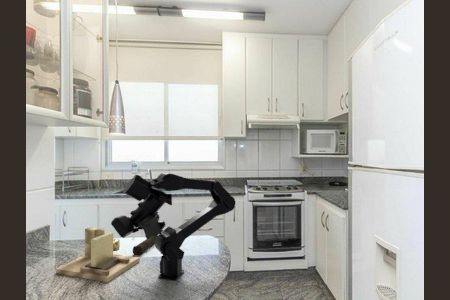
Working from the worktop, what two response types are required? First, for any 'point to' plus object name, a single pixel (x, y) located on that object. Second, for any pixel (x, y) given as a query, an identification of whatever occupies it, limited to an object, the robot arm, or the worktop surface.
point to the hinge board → (78, 265)
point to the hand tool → (143, 245)
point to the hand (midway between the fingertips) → (122, 236)
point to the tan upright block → (103, 252)
